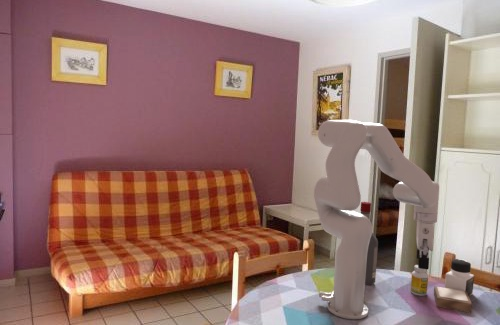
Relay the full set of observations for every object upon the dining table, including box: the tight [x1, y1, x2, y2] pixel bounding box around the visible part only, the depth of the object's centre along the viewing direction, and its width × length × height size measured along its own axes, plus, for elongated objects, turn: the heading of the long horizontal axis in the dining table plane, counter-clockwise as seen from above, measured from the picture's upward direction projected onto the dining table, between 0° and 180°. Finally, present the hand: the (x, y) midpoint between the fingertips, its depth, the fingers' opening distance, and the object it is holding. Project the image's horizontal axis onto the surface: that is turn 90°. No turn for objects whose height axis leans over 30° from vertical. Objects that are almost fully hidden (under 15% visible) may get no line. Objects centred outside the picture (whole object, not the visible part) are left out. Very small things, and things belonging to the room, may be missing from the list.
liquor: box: [360, 201, 379, 287], centre depth 145 cm, size 9×9×30 cm
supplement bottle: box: [410, 264, 429, 297], centre depth 137 cm, size 5×5×10 cm
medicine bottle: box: [444, 258, 475, 297], centre depth 138 cm, size 7×7×12 cm
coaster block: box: [433, 285, 472, 314], centre depth 131 cm, size 10×10×3 cm
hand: (422, 263), depth 137 cm, fingers open, 9 cm apart
